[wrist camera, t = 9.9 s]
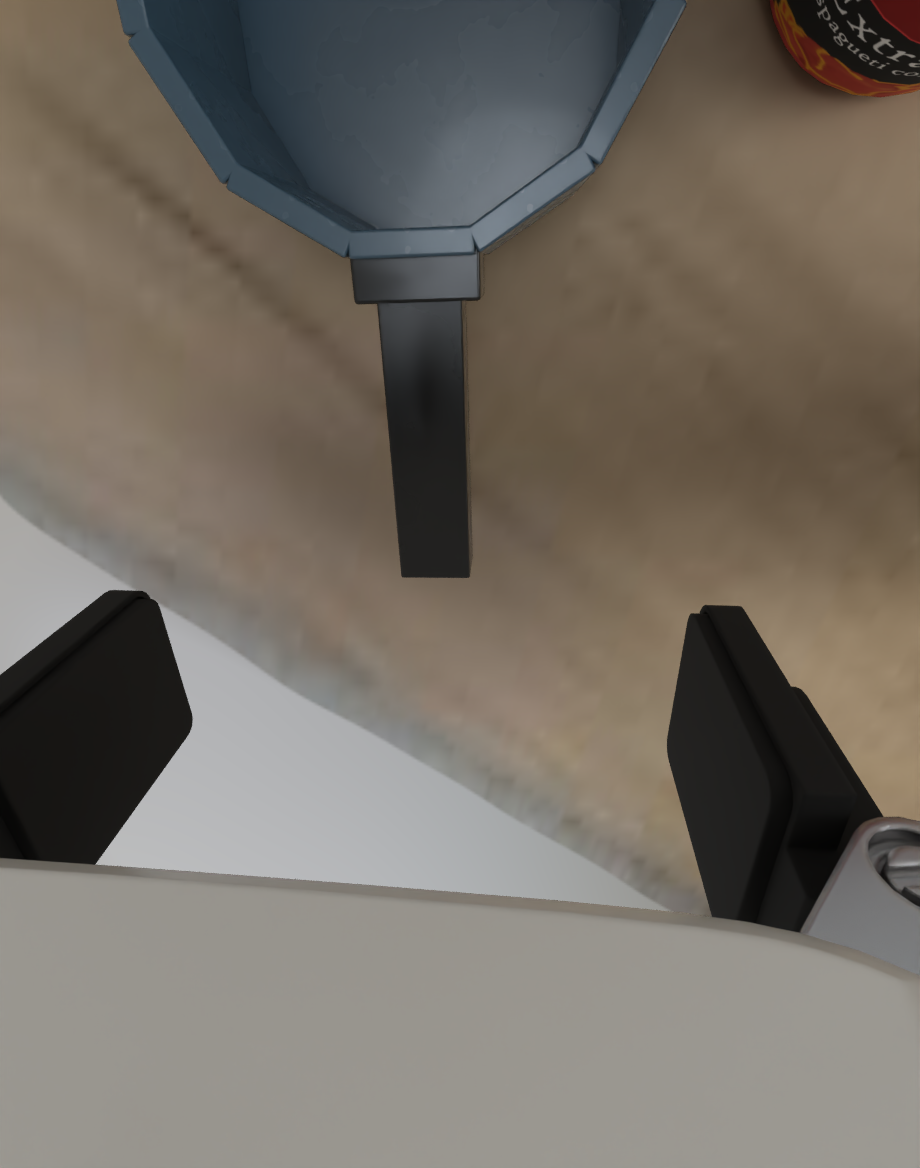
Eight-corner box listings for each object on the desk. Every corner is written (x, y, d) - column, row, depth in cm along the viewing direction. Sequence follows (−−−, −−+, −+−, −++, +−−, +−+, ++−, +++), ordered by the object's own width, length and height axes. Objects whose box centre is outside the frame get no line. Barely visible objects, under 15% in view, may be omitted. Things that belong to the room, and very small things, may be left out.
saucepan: (667, -332, 14) (770, -721, 8) (598, 515, 23) (625, 593, 18) (178, -275, 15) (-18, -590, 9) (307, 516, 24) (248, 590, 19)
